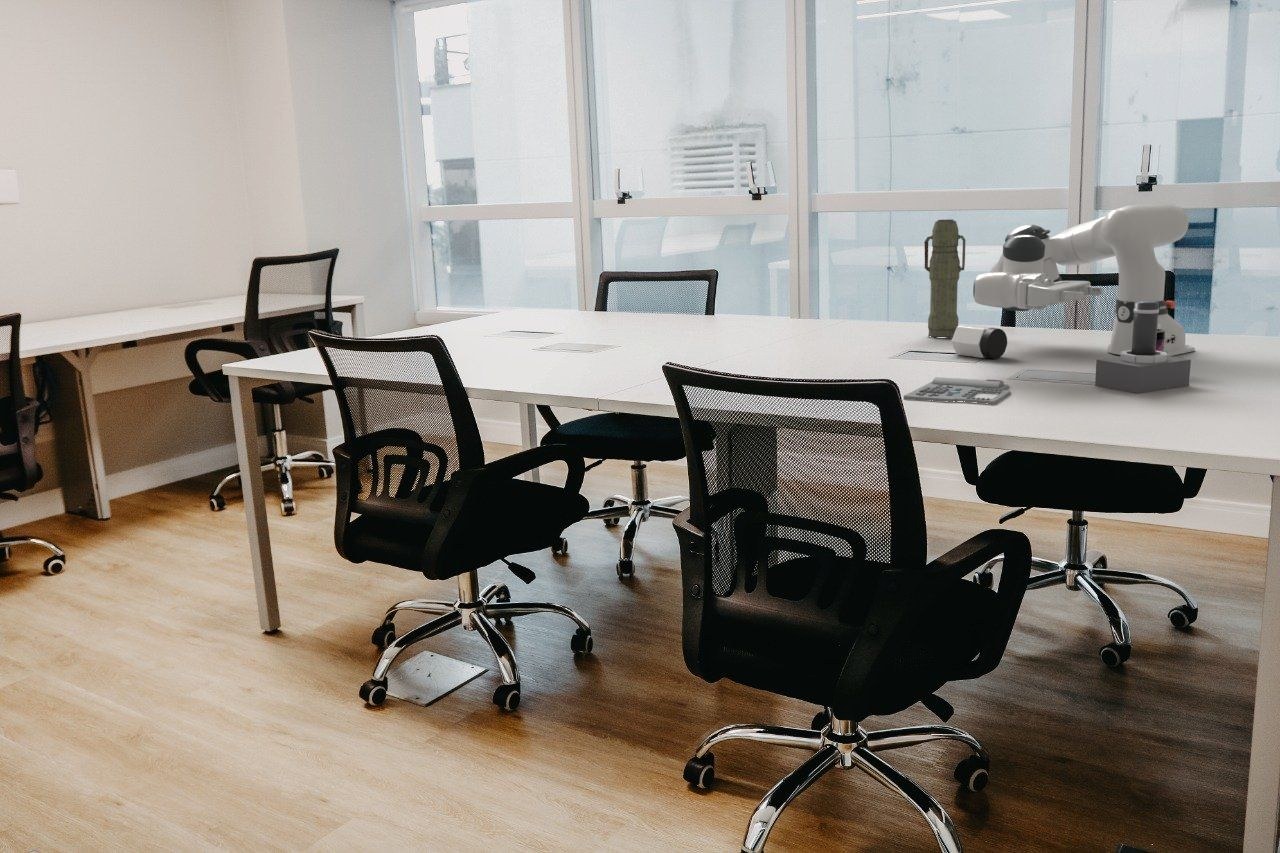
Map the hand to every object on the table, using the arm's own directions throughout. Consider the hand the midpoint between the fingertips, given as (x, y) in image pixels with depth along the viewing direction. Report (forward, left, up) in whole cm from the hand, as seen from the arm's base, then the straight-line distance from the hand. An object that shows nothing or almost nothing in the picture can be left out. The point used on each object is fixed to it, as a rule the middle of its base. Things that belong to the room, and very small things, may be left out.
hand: (1092, 293), depth 255 cm
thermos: (-19, -76, -21) cm, 81 cm away
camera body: (-5, +11, -20) cm, 24 cm away
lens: (-5, +11, -14) cm, 19 cm away
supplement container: (-18, +1, -21) cm, 27 cm away
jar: (-2, -47, -16) cm, 50 cm away
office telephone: (+33, -5, -21) cm, 40 cm away
